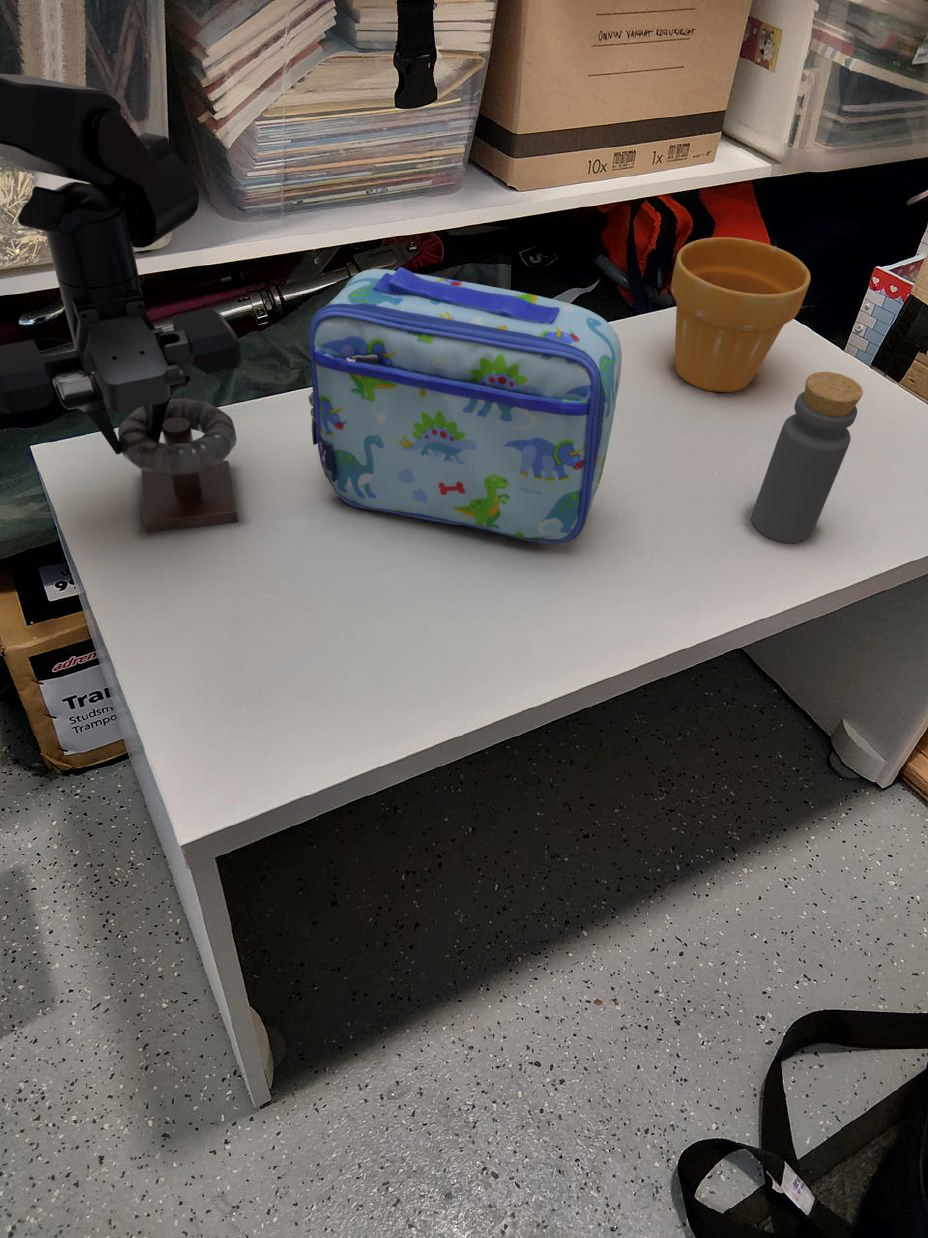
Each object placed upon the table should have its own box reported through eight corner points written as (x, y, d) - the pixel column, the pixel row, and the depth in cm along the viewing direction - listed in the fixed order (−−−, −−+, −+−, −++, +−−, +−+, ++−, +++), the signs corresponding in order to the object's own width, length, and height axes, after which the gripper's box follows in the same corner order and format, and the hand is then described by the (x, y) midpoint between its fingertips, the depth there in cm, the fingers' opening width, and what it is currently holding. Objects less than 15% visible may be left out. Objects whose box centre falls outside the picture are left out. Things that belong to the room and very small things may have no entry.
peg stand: (146, 532, 83) (128, 456, 77) (143, 479, 88) (126, 403, 82) (238, 521, 85) (227, 446, 79) (229, 470, 90) (219, 395, 84)
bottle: (785, 499, 92) (837, 362, 82) (825, 535, 89) (885, 396, 78) (738, 513, 90) (785, 374, 80) (777, 550, 86) (832, 410, 76)
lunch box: (303, 503, 87) (287, 288, 72) (348, 442, 94) (341, 236, 80) (575, 572, 83) (617, 358, 68) (600, 502, 90) (642, 295, 75)
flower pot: (791, 367, 111) (828, 260, 102) (750, 420, 102) (786, 308, 93) (680, 331, 116) (706, 225, 106) (632, 378, 107) (656, 268, 98)
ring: (123, 486, 78) (117, 460, 76) (119, 423, 84) (114, 397, 83) (243, 474, 80) (240, 449, 79) (230, 414, 87) (227, 389, 85)
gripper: (-20, 345, 61) (41, 530, 72) (255, 297, 68) (273, 473, 79) (-46, 273, 68) (14, 453, 79) (207, 236, 75) (230, 406, 86)
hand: (136, 447), depth 80 cm, fingers closed on ring, 3 cm apart
